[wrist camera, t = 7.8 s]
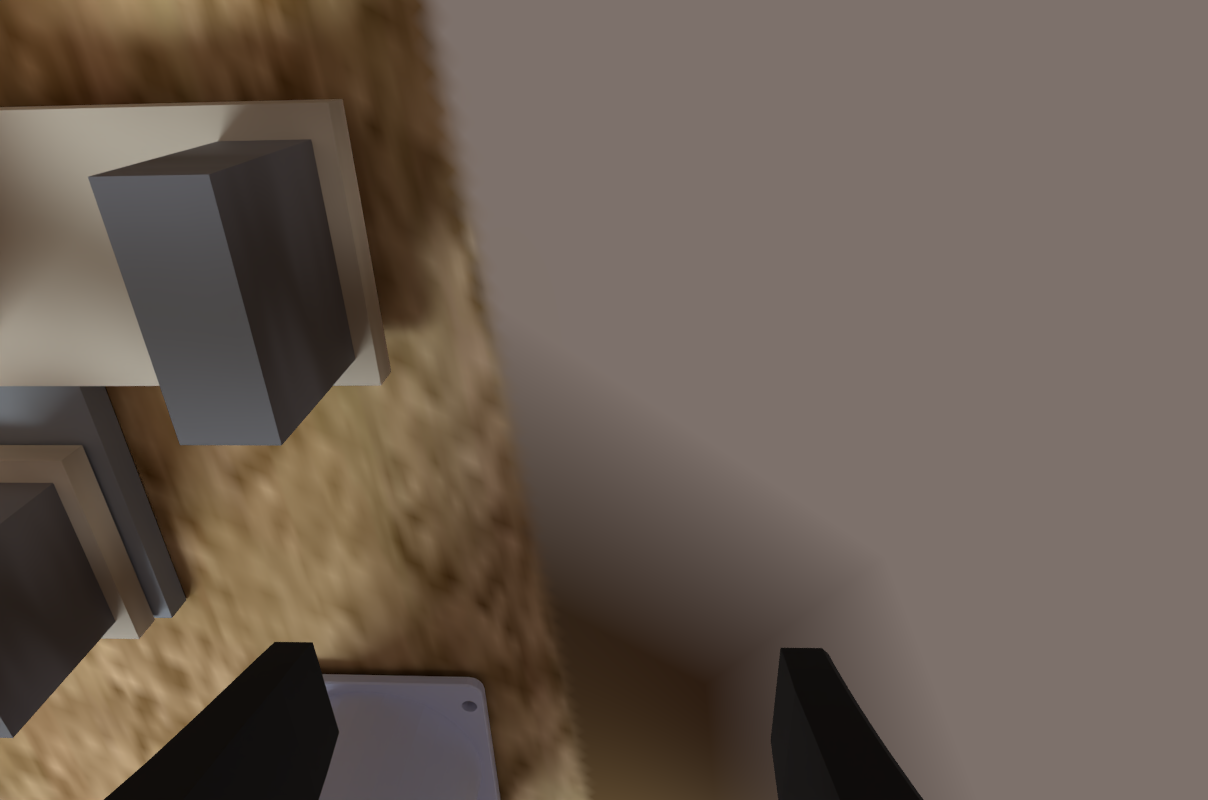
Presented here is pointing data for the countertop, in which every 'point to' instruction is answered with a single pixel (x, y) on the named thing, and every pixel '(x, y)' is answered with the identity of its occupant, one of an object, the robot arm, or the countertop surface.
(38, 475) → the far strip
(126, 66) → the countertop surface
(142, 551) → the lane board
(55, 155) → the near strip
